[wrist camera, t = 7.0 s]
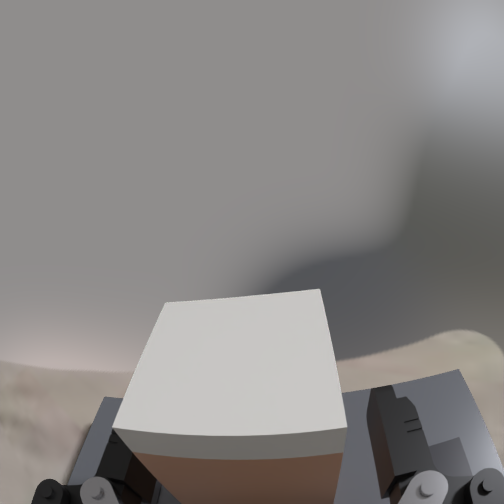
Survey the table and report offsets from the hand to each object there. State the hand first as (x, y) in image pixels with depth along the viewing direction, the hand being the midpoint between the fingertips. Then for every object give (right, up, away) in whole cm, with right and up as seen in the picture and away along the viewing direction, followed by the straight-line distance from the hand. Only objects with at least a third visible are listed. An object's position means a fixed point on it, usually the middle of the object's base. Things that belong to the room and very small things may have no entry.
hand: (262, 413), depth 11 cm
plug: (+1, -9, +2) cm, 9 cm away
